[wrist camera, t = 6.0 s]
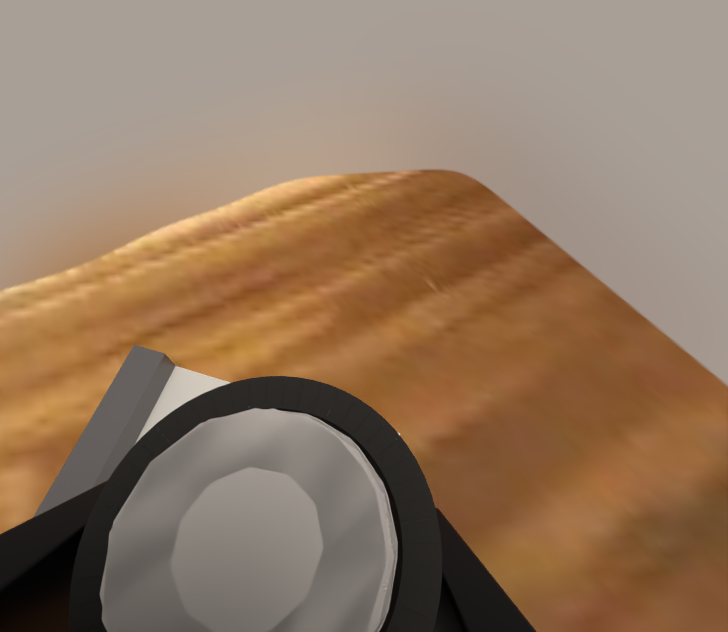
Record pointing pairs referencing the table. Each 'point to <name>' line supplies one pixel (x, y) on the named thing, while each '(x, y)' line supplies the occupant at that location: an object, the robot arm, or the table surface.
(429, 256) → the table surface
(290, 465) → the push button
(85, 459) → the marker board
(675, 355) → the table surface
